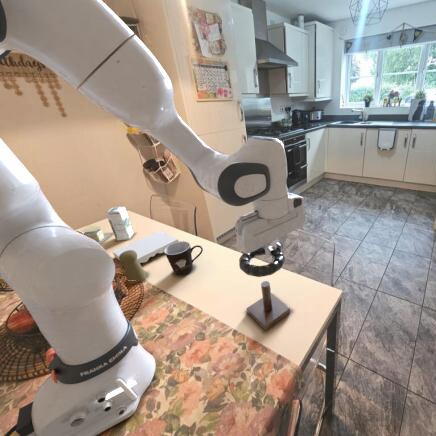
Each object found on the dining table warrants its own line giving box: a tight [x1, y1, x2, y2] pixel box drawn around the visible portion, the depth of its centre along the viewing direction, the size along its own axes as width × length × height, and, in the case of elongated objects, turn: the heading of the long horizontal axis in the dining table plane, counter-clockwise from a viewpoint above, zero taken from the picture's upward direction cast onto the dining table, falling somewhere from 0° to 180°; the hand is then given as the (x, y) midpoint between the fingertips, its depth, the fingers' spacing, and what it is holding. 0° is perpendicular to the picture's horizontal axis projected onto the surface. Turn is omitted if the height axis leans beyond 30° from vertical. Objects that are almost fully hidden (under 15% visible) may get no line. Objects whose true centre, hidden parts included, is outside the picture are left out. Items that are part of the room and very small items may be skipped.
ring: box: [238, 245, 286, 278], centre depth 63 cm, size 12×12×3 cm
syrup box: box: [105, 206, 135, 241], centre depth 112 cm, size 6×6×14 cm
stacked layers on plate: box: [81, 225, 112, 245], centre depth 113 cm, size 10×9×6 cm
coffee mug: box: [163, 240, 204, 277], centre depth 88 cm, size 12×9×10 cm
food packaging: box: [112, 230, 179, 264], centre depth 102 cm, size 15×3×20 cm
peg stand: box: [246, 280, 291, 331], centre depth 69 cm, size 9×9×10 cm
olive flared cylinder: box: [118, 250, 147, 285], centre depth 85 cm, size 6×6×11 cm
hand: (275, 251), depth 66 cm, fingers closed on ring, 2 cm apart
